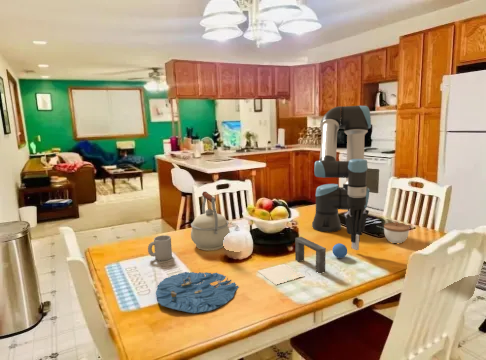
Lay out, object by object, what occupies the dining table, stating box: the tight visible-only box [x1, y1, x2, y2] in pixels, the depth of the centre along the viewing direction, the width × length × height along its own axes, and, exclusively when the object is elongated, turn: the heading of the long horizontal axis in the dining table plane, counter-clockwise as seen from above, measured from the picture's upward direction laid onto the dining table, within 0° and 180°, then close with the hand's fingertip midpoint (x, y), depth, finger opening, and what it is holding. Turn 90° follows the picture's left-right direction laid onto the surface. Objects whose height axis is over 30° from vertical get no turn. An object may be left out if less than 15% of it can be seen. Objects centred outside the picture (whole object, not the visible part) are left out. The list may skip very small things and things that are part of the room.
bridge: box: [294, 236, 327, 274], centre depth 136 cm, size 3×15×10 cm, turn 28°
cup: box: [147, 234, 173, 261], centre depth 148 cm, size 7×10×9 cm
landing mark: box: [257, 263, 305, 286], centre depth 130 cm, size 13×13×1 cm
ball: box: [332, 242, 348, 259], centre depth 144 cm, size 6×6×6 cm
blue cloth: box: [155, 271, 240, 314], centre depth 119 cm, size 30×30×5 cm
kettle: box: [190, 191, 231, 251], centre depth 161 cm, size 25×18×25 cm
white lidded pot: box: [383, 221, 410, 244], centre depth 159 cm, size 11×11×9 cm
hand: (355, 248), depth 148 cm, fingers closed
